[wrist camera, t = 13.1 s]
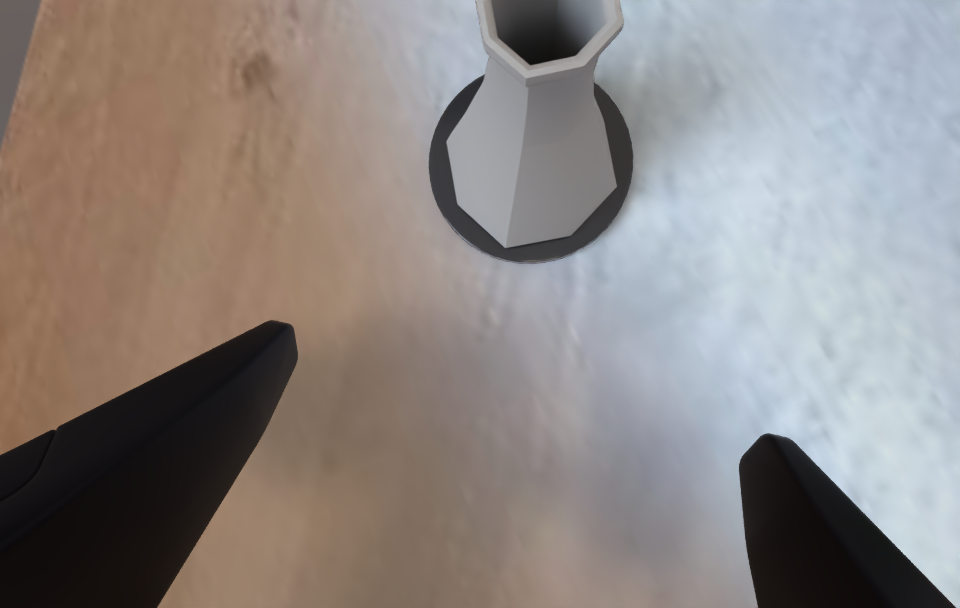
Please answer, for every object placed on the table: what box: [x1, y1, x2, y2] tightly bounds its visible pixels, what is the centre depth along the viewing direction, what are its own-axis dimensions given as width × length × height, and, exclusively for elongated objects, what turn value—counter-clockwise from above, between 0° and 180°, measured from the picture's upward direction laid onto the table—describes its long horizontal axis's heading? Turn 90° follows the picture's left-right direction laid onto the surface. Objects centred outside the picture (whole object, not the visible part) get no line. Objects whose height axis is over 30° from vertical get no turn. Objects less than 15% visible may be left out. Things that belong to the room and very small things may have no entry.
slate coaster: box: [429, 74, 633, 264], centre depth 20 cm, size 9×9×1 cm
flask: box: [446, 0, 624, 248], centre depth 15 cm, size 7×7×10 cm
